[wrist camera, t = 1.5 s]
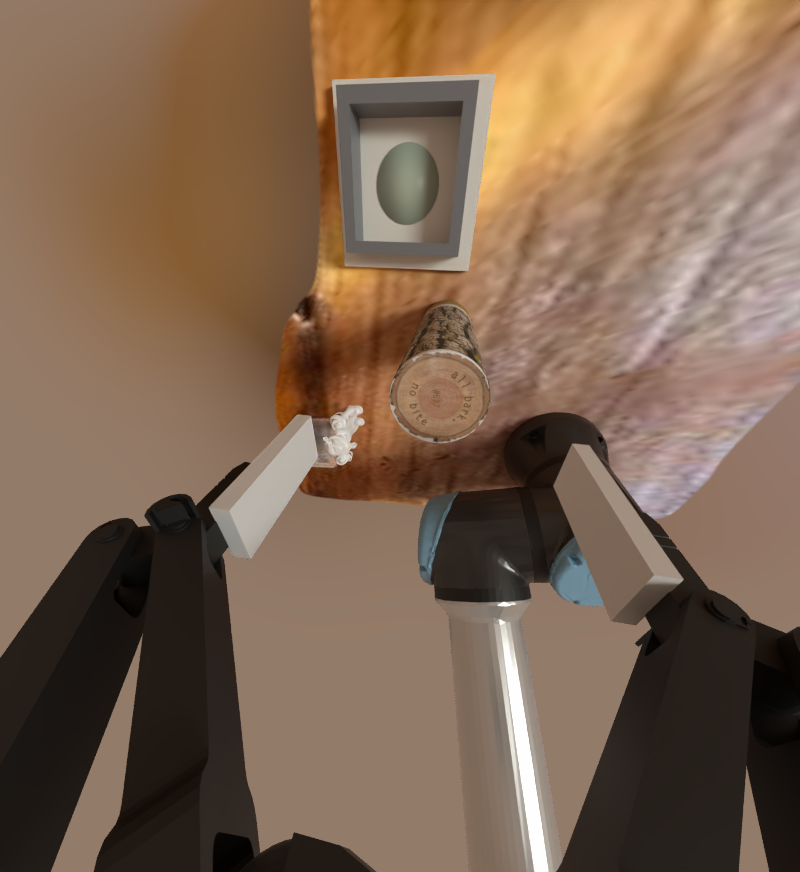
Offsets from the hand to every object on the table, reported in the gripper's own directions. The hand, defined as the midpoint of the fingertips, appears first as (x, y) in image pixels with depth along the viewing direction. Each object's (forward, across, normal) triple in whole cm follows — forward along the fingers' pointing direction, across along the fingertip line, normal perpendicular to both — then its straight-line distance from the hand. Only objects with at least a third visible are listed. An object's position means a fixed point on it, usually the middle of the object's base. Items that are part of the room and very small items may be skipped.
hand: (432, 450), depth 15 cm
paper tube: (+31, 0, 0) cm, 31 cm away
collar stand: (+30, +6, -15) cm, 34 cm away
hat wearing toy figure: (+31, +14, +16) cm, 37 cm away
